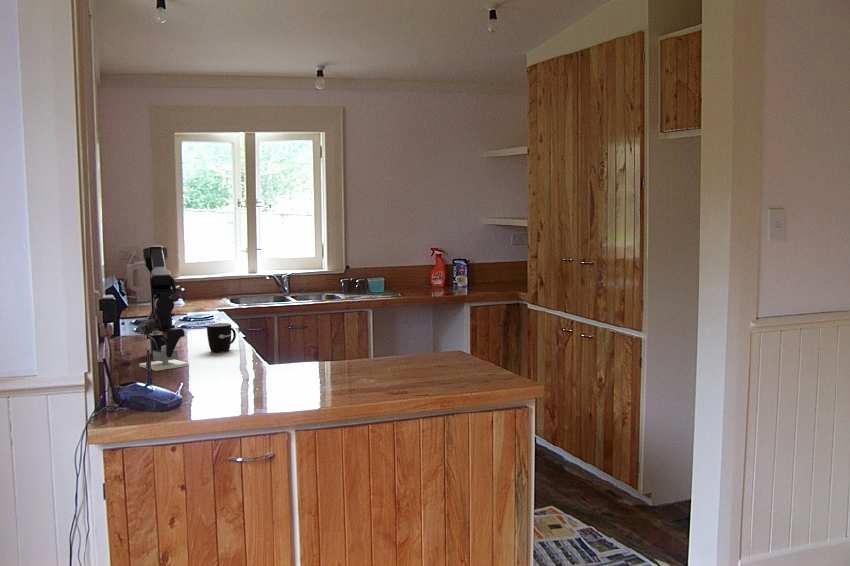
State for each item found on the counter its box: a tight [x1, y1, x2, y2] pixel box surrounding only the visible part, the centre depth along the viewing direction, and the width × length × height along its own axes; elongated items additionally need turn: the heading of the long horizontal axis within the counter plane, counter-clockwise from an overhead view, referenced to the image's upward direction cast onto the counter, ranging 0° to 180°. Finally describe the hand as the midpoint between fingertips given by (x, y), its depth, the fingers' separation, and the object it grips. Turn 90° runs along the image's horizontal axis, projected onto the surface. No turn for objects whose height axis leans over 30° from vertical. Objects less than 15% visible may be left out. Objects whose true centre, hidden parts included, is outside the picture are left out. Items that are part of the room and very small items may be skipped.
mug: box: [206, 322, 237, 354], centre depth 309 cm, size 12×9×10 cm
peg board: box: [139, 346, 190, 372], centre depth 279 cm, size 12×12×7 cm
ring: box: [152, 349, 179, 361], centre depth 279 cm, size 6×6×3 cm
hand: (165, 356), depth 279 cm, fingers closed on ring, 6 cm apart
